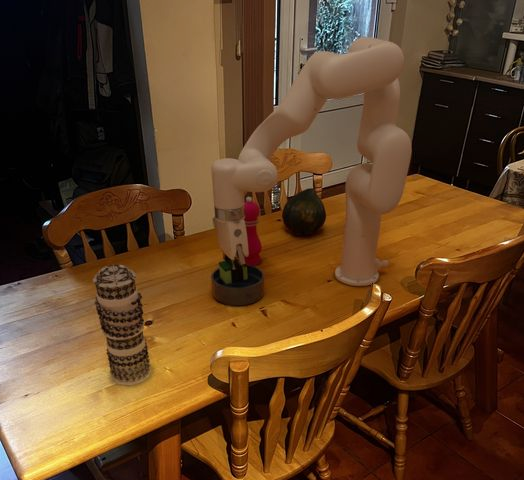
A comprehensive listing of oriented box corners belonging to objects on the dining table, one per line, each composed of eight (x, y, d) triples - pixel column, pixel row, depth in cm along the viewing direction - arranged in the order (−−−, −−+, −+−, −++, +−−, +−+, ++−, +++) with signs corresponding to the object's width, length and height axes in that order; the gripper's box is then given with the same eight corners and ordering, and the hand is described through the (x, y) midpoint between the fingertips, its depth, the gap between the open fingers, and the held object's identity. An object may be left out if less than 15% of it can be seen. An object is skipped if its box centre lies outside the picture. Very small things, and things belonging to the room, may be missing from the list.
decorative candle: (138, 355, 122) (121, 255, 108) (161, 373, 116) (146, 270, 102) (102, 372, 117) (79, 269, 102) (124, 392, 111) (104, 286, 97)
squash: (272, 222, 173) (304, 189, 166) (276, 208, 186) (306, 176, 179) (303, 251, 177) (336, 220, 170) (305, 235, 190) (336, 205, 183)
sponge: (241, 272, 145) (240, 257, 142) (247, 279, 142) (247, 263, 139) (220, 277, 143) (218, 262, 140) (226, 284, 140) (224, 268, 137)
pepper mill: (259, 267, 159) (258, 202, 147) (235, 265, 160) (233, 200, 148) (263, 257, 164) (264, 193, 153) (241, 255, 166) (239, 191, 154)
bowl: (251, 277, 153) (251, 260, 150) (272, 300, 143) (273, 281, 140) (204, 287, 149) (203, 269, 145) (223, 311, 138) (222, 292, 135)
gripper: (257, 220, 127) (259, 288, 137) (231, 198, 139) (234, 262, 150) (228, 226, 124) (232, 294, 135) (204, 203, 137) (209, 267, 147)
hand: (233, 276), depth 142 cm, fingers closed on sponge, 4 cm apart
